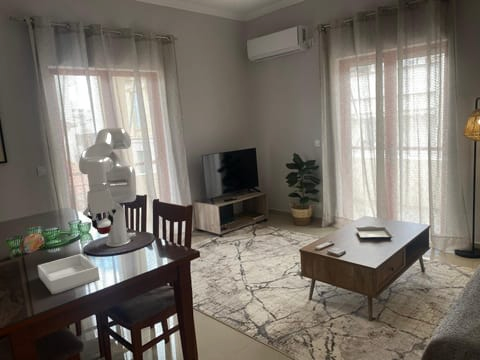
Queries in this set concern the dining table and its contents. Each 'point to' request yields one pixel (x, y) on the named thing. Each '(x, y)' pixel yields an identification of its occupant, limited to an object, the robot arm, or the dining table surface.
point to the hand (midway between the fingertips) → (103, 226)
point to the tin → (32, 242)
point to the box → (68, 273)
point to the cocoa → (103, 225)
